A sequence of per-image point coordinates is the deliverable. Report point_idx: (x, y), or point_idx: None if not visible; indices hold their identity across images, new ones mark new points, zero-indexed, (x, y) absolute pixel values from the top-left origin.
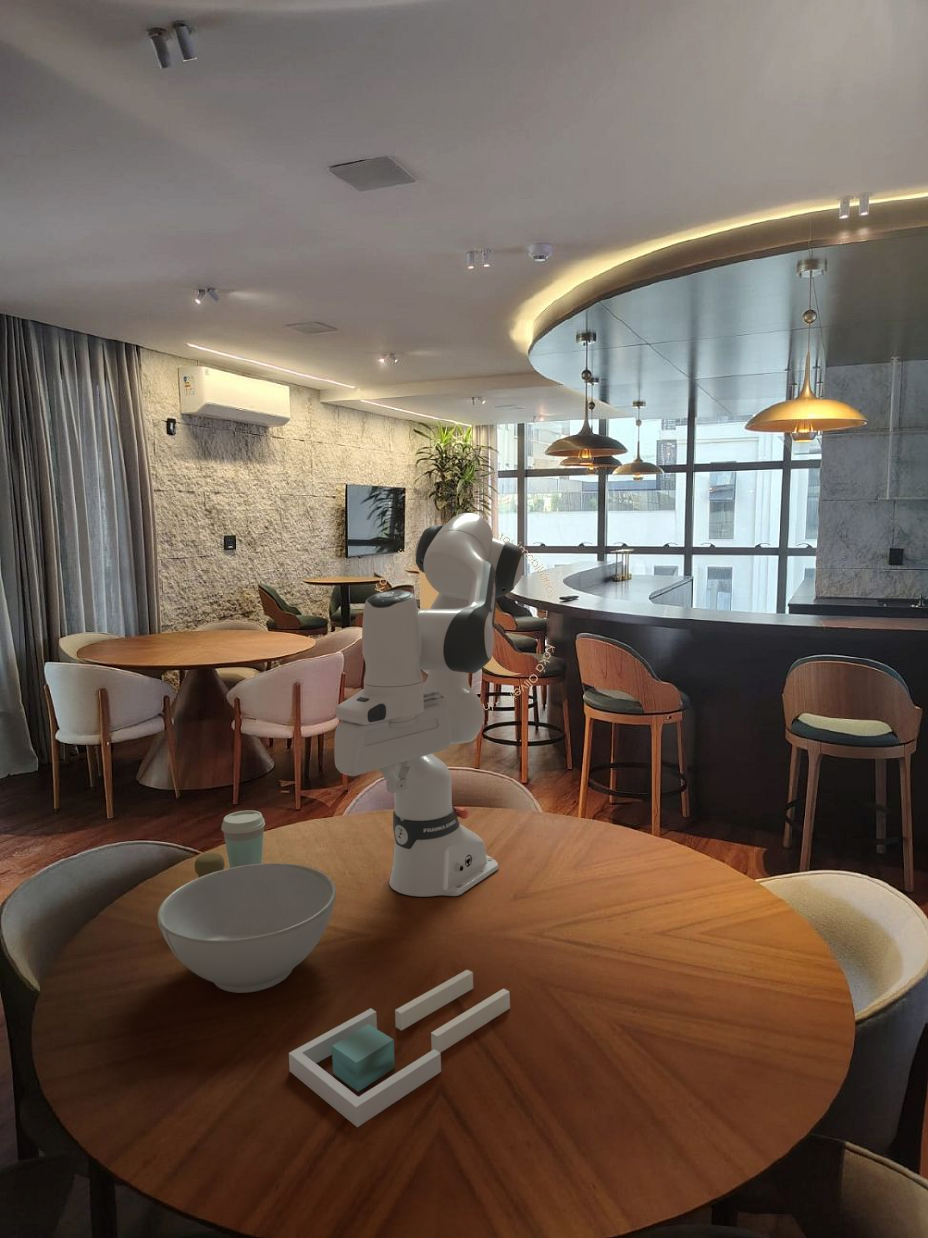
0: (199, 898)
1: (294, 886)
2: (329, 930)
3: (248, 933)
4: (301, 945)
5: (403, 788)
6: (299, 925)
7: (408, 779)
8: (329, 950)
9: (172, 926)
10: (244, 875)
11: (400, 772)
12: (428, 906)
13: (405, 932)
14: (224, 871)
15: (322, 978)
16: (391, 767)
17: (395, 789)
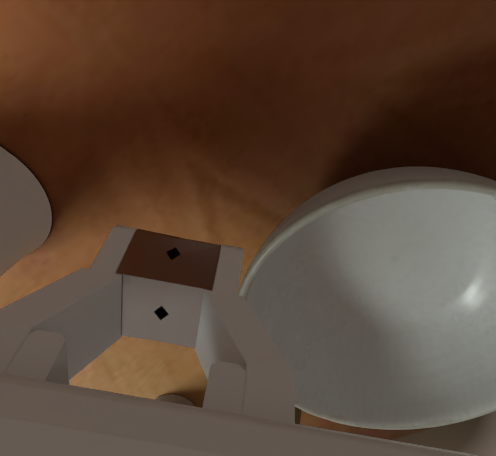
0: (379, 395)
1: (257, 317)
2: (221, 227)
3: (338, 300)
4: (442, 168)
5: (160, 235)
6: (478, 184)
7: (94, 260)
8: (270, 187)
9: (460, 372)
10: (302, 390)
11: (97, 346)
12: (41, 138)
13: (141, 114)
14: (330, 415)
15: (348, 138)
16: (252, 405)
17: (230, 255)
